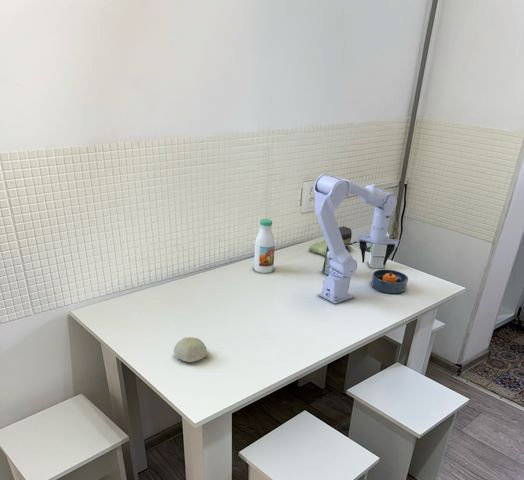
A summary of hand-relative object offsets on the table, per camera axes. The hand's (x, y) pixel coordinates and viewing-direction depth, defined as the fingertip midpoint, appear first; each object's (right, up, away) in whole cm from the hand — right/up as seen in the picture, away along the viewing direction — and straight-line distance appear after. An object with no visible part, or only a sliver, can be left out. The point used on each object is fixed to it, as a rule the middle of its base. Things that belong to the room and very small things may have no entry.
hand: (373, 263), depth 180 cm
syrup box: (+7, +3, +26) cm, 27 cm away
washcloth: (-11, +12, +39) cm, 42 cm away
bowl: (+7, -8, +8) cm, 13 cm away
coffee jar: (-12, -1, +17) cm, 21 cm away
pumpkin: (+7, -7, +8) cm, 13 cm away
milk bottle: (-40, 0, +16) cm, 44 cm away
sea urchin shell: (-61, -34, -40) cm, 81 cm away
